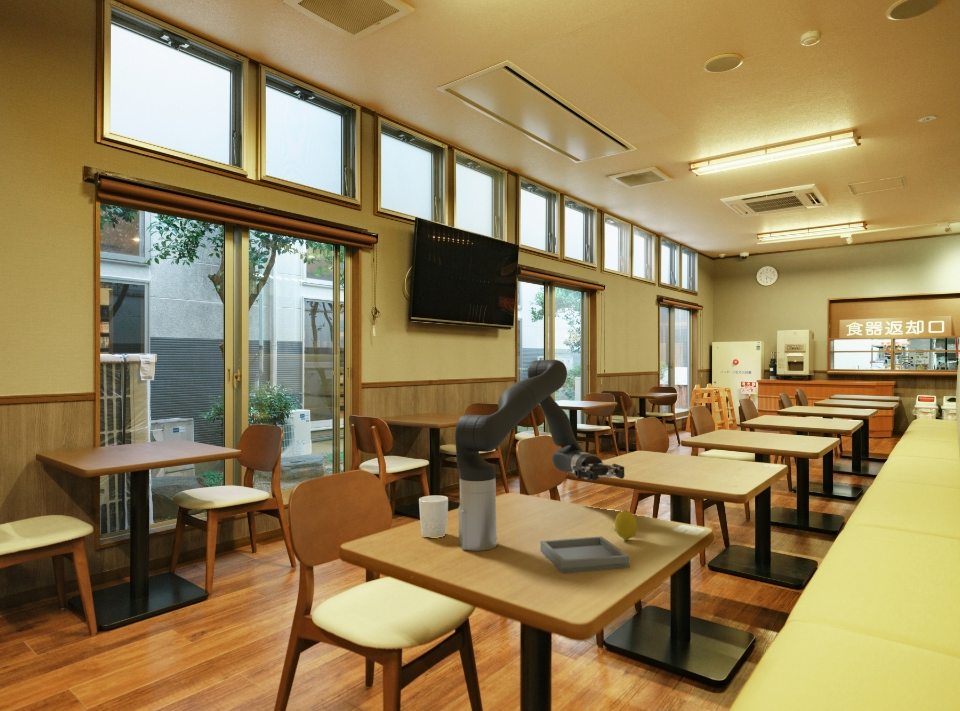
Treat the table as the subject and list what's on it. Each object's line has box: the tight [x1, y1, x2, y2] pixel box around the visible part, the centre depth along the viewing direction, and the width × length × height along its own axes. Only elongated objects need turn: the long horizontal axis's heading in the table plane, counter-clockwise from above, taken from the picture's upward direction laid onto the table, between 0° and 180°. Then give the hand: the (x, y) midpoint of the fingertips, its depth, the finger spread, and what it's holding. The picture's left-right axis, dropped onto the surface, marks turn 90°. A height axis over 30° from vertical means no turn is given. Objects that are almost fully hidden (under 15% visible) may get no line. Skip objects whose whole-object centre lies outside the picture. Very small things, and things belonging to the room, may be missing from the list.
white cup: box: [418, 494, 449, 537], centre depth 161 cm, size 8×8×10 cm
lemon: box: [614, 509, 638, 541], centre depth 154 cm, size 6×6×8 cm
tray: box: [539, 535, 631, 574], centre depth 140 cm, size 16×16×2 cm
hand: (608, 475), depth 165 cm, fingers open, 8 cm apart
